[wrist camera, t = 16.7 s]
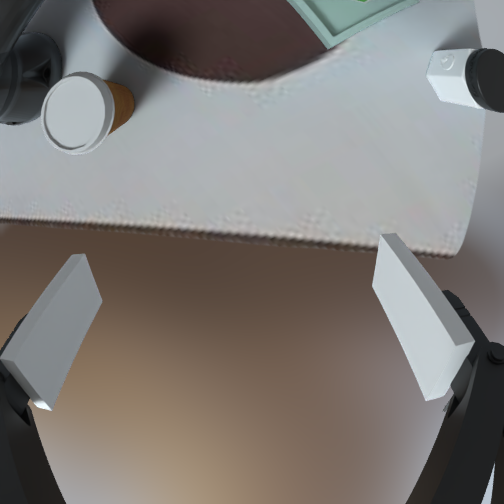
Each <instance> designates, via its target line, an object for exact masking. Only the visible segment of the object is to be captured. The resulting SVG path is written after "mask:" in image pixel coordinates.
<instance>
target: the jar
mask: <svg viewBox="0 0 504 504" xmlns="http://www.w3.org/2000/svg"><path fill="white" fill-rule="evenodd" d="M426 77H427V79H428V80H429V82H430V83H431V85H432V87H433V88H434V90H435V92H436V94H437V95H438V97H439V99H440V100H441V101H443V102H449V103H454V104H460V105H464V106H469V107H474V108H484V109H487V110H491V111H495V112H500V113H504V54H503V53H502V52H500V51H498V50H495V49H487V48H484V49H471V48H468V49H451V50H439V51H434V52H433V55H432V58H431V61H430V64H429V67H428V70H427V73H426Z"/></svg>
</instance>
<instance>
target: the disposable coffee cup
mask: <svg viewBox="0 0 504 504" xmlns="http://www.w3.org/2000/svg"><path fill="white" fill-rule="evenodd" d="M133 110H134V97H133V95H132V93H131V91H130V90H129V89H128V88H127V87H125V86H123V85H120V84H117V83H113V82H110V81H106V80H103V79H101V78H100V77H98V76H96V75H94V74H92V73H88V72H75V73H72V74H69V75H67V76H65V77H64V78H62V79H61V80H60V81H59V82H57V83H56V84H55V85H54V86H53V87H52V88H51V89H50V91H49V92H48V94H47V96H46V97H45V99H44V102H43V106H42V110H41V125H42V129H43V132H44V135H45V137H46V138H47V140H48V142H49V143H50V144H51V145H52V146H53V147H54V148H55V149H57V150H60V151H62V152H64V153H68V154H71V155H81V154H86V153H88V152H91V151H93V150H94V149H95V148H97V147H98V146H99V145H100V144H101V143H102V142H103V141H104V140H105V139H106V137H107V136H108V135H109V134H111V133H112V132H113V131H115V130H116V129H117V128H119V127H120V126H121V125H123V124H124V123H126V122H127V121H128V120H129V118H130V117H131V115H132V113H133Z"/></svg>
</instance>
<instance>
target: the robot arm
mask: <svg viewBox="0 0 504 504" xmlns="http://www.w3.org/2000/svg"><path fill="white" fill-rule="evenodd" d="M43 2H44V0H0V123H2V124H7V125H21V124H24V123H28V122H31V121H33V120H35V119H37V118H38V117H39V116H41V110H42V106H43V102H44V99H45V97H46V96H47V94H48V92H49V91H50V89H51V88H52V87H53V86H54V85H55V84H56V83H57V82H59V81H60V78H61V69H62V65H61V56H60V52H59V50H58V47H57V45H56V44H55V42H54V41H53V40H52V39H51V38H50V37H48V36H47V35H45V34H41V33H34V32H27V33H23V31H24V30H25V28H26V26H27V25H28V23H29V22H30V20H31V19H32V17H33V16H34V14H35V13H36V11H37V10H38V9H39V7H40V6H41V4H42V3H43ZM372 287H373V289H374V291H375V293H376V295H377V296H378V298H379V300H380V302H381V304H382V306H383V308H384V310H385V312H386V314H387V316H388V318H389V320H390V322H391V324H392V326H393V329H394V331H395V333H396V335H397V337H398V339H399V341H400V343H401V345H402V348H403V350H404V352H405V354H406V356H407V358H408V361H409V363H410V365H411V368H412V370H413V372H414V374H415V377H416V379H417V381H418V384H419V386H420V388H421V391H422V393H423V395H424V398H425V400H426V401H428V400H431V399H435V398H439V397H442V396H444V395H445V393H446V392H447V390H448V388H449V387H450V386H451V388H452V390H453V391H454V394H453V396H452V398H451V399H450V401H449V402H448V403H447V405H446V406H445V408H444V409H443V411H444V412H445V411H446V410H447V412H446V415H445V417H444V420H443V423H442V426H441V428H440V431H439V434H438V436H437V438H436V441H435V443H434V446H433V448H432V451H431V453H430V455H429V458H428V460H427V462H426V464H425V466H424V468H423V471H422V473H421V475H420V477H419V479H418V481H417V483H416V485H415V487H414V489H413V491H412V493H411V495H410V497H409V498H408V500H407V502H406V504H481V503H482V500H483V497H484V494H485V492H486V488H487V486H488V483H489V480H490V476H491V473H492V469H493V466H494V463H495V470H494V481H493V490H492V498H491V504H504V346H503V345H501V344H499V343H495V342H489V340H488V339H487V337H486V336H485V334H484V333H483V331H482V330H481V329H480V327H479V326H478V324H477V323H476V321H475V320H474V318H473V317H472V316H470V313H469V311H468V310H467V309H465V306H464V305H463V303H462V302H461V300H460V299H459V298H458V297H457V296H456V295H454V294H453V293H452V292H450V291H449V290H445V291H441V290H440V289H439V287H438V286H437V285H436V283H435V282H434V281H433V279H432V278H431V277H430V275H429V274H428V273H427V271H426V270H425V269H424V268H423V266H422V265H421V264H420V262H419V261H418V260H417V259H416V257H415V256H414V255H413V254H412V252H411V251H410V250H409V249H408V247H407V246H406V245H405V244H404V242H403V241H402V240H401V239H400V238H399V236H398V235H397V234H396V233H392V234H380V241H379V248H378V255H377V261H376V267H375V273H374V279H373V285H372ZM101 303H102V299H101V296H100V294H99V291H98V288H97V286H96V283H95V280H94V278H93V275H92V272H91V270H90V267H89V264H88V261H87V258H86V256H85V254H75V255H71V257H70V258H69V259H68V260H67V262H66V263H65V264H64V265H63V267H62V268H61V269H60V271H59V272H58V273H57V275H56V276H55V277H54V278H53V280H52V281H51V282H50V284H49V285H48V286H47V288H46V289H45V290H44V292H43V293H42V295H41V296H40V297H39V299H38V300H37V302H36V303H35V304H34V306H33V307H32V309H31V310H30V312H29V313H28V314H26V315H25V316H24V317H23V318H22V319H21V320H20V321H19V322H18V324H17V325H16V327H15V328H14V331H12V333H11V334H10V336H9V338H8V339H7V341H6V342H5V344H4V345H3V347H2V349H1V350H0V504H66V502H65V500H64V498H63V496H62V494H61V492H60V489H59V487H58V485H57V482H56V480H55V478H54V475H53V473H52V470H51V468H50V465H49V463H48V460H47V457H46V455H45V452H44V449H43V446H42V443H41V440H40V437H39V434H38V431H37V428H36V424H35V421H34V418H33V414H32V410H31V409H30V407H29V405H28V404H27V403H28V401H29V399H31V400H32V401H33V402H34V404H35V405H36V406H37V407H39V408H44V409H48V410H52V409H53V407H54V405H55V402H56V400H57V397H58V394H59V392H60V390H61V387H62V385H63V382H64V380H65V378H66V376H67V374H68V371H69V369H70V367H71V365H72V362H73V360H74V358H75V356H76V354H77V352H78V349H79V347H80V345H81V343H82V341H83V339H84V337H85V335H86V333H87V331H88V329H89V327H90V325H91V323H92V321H93V319H94V317H95V315H96V313H97V311H98V309H99V307H100V305H101Z"/></svg>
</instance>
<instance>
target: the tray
mask: <svg viewBox="0 0 504 504" xmlns="http://www.w3.org/2000/svg"><path fill="white" fill-rule="evenodd" d="M287 1H288V2H289V3H290V4H291V5H292V6H293V7H294V9H295V10H296V11H297V12H298V13H299V14H300V16H301V17H302V18H303V19H304V20H305V21H306V23H307V24H308V25H309V26H310V28H311V29H312V30H313V31H314V32H315V34H316V35H317V36H318V38H319V39H320V40H321V41H322V43H323V44H324V45H325V47H326V48H327V49H329V48H331V47H333V46H335V45H337V44H338V43H340V42H342V41H344V40H345V39H347V38H349V37H351V36H352V35H354V34H356V33H358V32H360V31H362V30H363V29H365V28H367V27H369V26H371V25H373V24H375V23H377V22H379V21H381V20H383V19H384V18H386V17H388V16H391V15H393V14H395V13H397V12H399V11H401V10H403V9H405V8H407V7H409V6H412V5H414V4H416V3H418V2H419V0H371V1H369V2H368V3H361V2H357V1H352V0H287Z"/></svg>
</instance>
